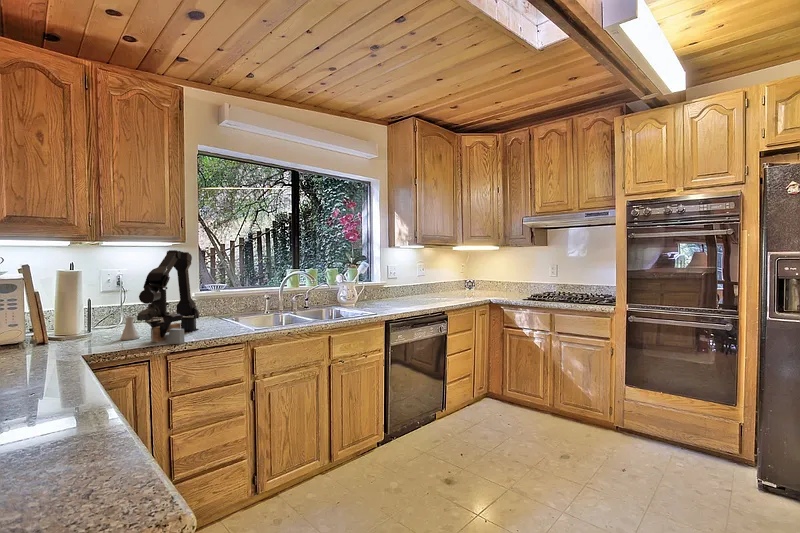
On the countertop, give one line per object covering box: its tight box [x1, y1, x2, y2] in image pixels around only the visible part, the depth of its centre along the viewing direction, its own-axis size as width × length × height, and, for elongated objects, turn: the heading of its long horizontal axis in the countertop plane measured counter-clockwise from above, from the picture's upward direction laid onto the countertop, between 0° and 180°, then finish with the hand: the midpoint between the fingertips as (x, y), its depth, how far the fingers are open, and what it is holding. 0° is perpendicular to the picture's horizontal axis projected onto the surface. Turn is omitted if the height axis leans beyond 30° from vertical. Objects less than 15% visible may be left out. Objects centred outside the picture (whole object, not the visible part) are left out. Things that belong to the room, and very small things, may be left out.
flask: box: [120, 316, 140, 341], centre depth 189 cm, size 7×7×10 cm
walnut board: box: [152, 322, 181, 343], centre depth 181 cm, size 12×2×6 cm, turn 163°
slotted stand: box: [150, 327, 185, 345], centre depth 181 cm, size 2×16×6 cm, turn 73°
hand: (159, 337), depth 177 cm, fingers closed on walnut board, 2 cm apart
